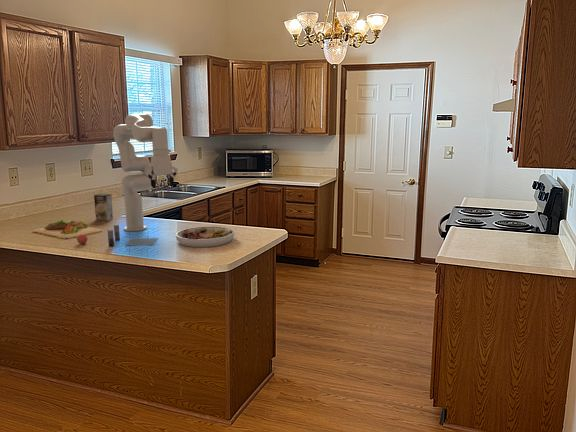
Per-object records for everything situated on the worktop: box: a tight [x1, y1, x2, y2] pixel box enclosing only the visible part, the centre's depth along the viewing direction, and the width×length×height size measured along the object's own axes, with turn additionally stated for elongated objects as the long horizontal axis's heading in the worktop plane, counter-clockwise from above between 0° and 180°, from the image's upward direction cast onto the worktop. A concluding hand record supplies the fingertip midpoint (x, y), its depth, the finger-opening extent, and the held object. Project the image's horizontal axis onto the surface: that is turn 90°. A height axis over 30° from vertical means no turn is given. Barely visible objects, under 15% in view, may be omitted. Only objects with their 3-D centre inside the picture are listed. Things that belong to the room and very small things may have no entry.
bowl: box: [175, 225, 235, 248], centre depth 258 cm, size 30×30×8 cm
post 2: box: [113, 224, 121, 242], centre depth 262 cm, size 3×3×8 cm
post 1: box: [107, 229, 115, 247], centre depth 250 cm, size 3×3×8 cm
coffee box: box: [93, 193, 114, 221], centre depth 316 cm, size 9×6×16 cm
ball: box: [76, 234, 88, 245], centre depth 255 cm, size 5×5×5 cm
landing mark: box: [125, 237, 159, 247], centre depth 258 cm, size 14×14×1 cm
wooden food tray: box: [32, 219, 103, 239], centre depth 284 cm, size 35×23×8 cm
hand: (162, 186), depth 251 cm, fingers open, 9 cm apart
